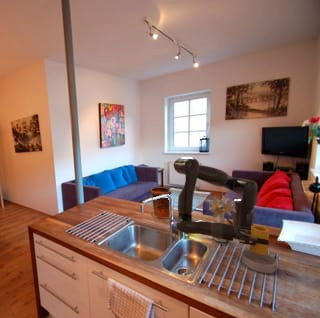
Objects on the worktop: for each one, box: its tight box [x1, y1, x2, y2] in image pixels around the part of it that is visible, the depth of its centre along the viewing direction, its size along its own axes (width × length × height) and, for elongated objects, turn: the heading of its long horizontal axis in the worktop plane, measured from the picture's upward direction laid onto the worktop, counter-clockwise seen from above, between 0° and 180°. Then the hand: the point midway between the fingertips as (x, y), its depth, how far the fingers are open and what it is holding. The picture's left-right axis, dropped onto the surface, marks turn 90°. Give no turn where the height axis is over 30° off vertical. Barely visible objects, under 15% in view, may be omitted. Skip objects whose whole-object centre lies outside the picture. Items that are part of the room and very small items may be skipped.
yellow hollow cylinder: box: [249, 224, 270, 255], centre depth 91 cm, size 6×6×11 cm
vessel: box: [150, 186, 172, 219], centre depth 151 cm, size 14×14×20 cm
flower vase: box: [208, 194, 236, 243], centre depth 113 cm, size 13×18×25 cm
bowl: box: [241, 248, 278, 274], centre depth 93 cm, size 12×12×4 cm
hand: (266, 238), depth 90 cm, fingers closed on yellow hollow cylinder, 6 cm apart
